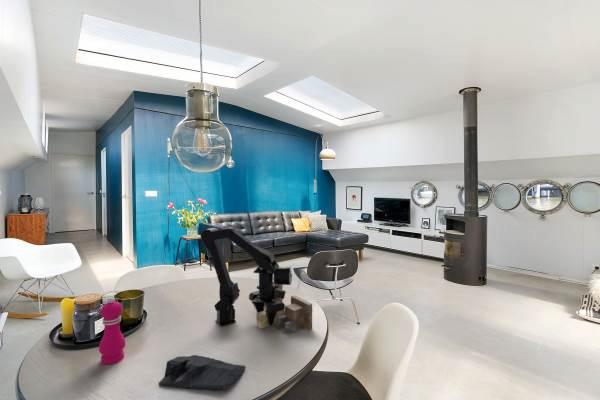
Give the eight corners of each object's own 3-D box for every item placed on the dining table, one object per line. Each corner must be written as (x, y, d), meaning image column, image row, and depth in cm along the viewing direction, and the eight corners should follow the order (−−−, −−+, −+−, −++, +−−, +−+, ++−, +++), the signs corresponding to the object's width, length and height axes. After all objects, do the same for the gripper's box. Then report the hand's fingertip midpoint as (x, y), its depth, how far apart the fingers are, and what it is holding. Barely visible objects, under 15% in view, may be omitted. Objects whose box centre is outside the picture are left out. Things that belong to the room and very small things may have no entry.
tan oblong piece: (260, 328, 117) (260, 315, 117) (256, 325, 120) (256, 313, 119) (290, 319, 125) (290, 307, 125) (285, 316, 128) (285, 304, 128)
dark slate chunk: (223, 401, 77) (223, 383, 77) (153, 386, 83) (153, 369, 83) (249, 367, 91) (249, 352, 91) (188, 357, 98) (188, 342, 97)
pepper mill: (120, 350, 100) (119, 292, 100) (129, 358, 96) (128, 296, 95) (95, 360, 95) (94, 298, 94) (103, 368, 90) (102, 303, 90)
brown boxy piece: (291, 336, 110) (291, 310, 110) (273, 325, 120) (273, 300, 119) (312, 329, 116) (312, 303, 116) (293, 318, 126) (293, 295, 125)
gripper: (295, 285, 117) (295, 324, 118) (270, 275, 132) (270, 309, 133) (271, 291, 111) (272, 332, 111) (248, 279, 125) (248, 316, 126)
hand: (266, 321), depth 120 cm, fingers open, 7 cm apart
